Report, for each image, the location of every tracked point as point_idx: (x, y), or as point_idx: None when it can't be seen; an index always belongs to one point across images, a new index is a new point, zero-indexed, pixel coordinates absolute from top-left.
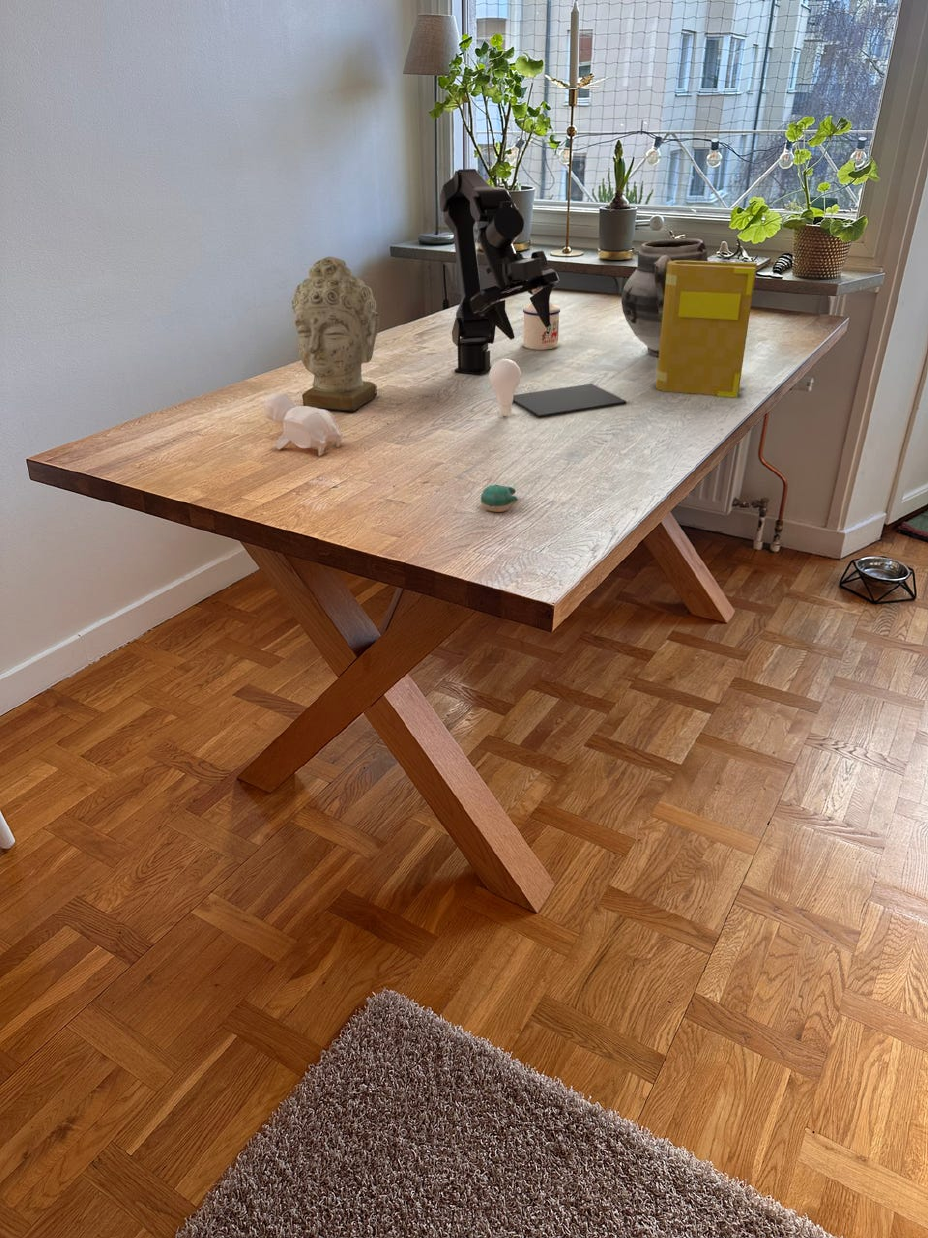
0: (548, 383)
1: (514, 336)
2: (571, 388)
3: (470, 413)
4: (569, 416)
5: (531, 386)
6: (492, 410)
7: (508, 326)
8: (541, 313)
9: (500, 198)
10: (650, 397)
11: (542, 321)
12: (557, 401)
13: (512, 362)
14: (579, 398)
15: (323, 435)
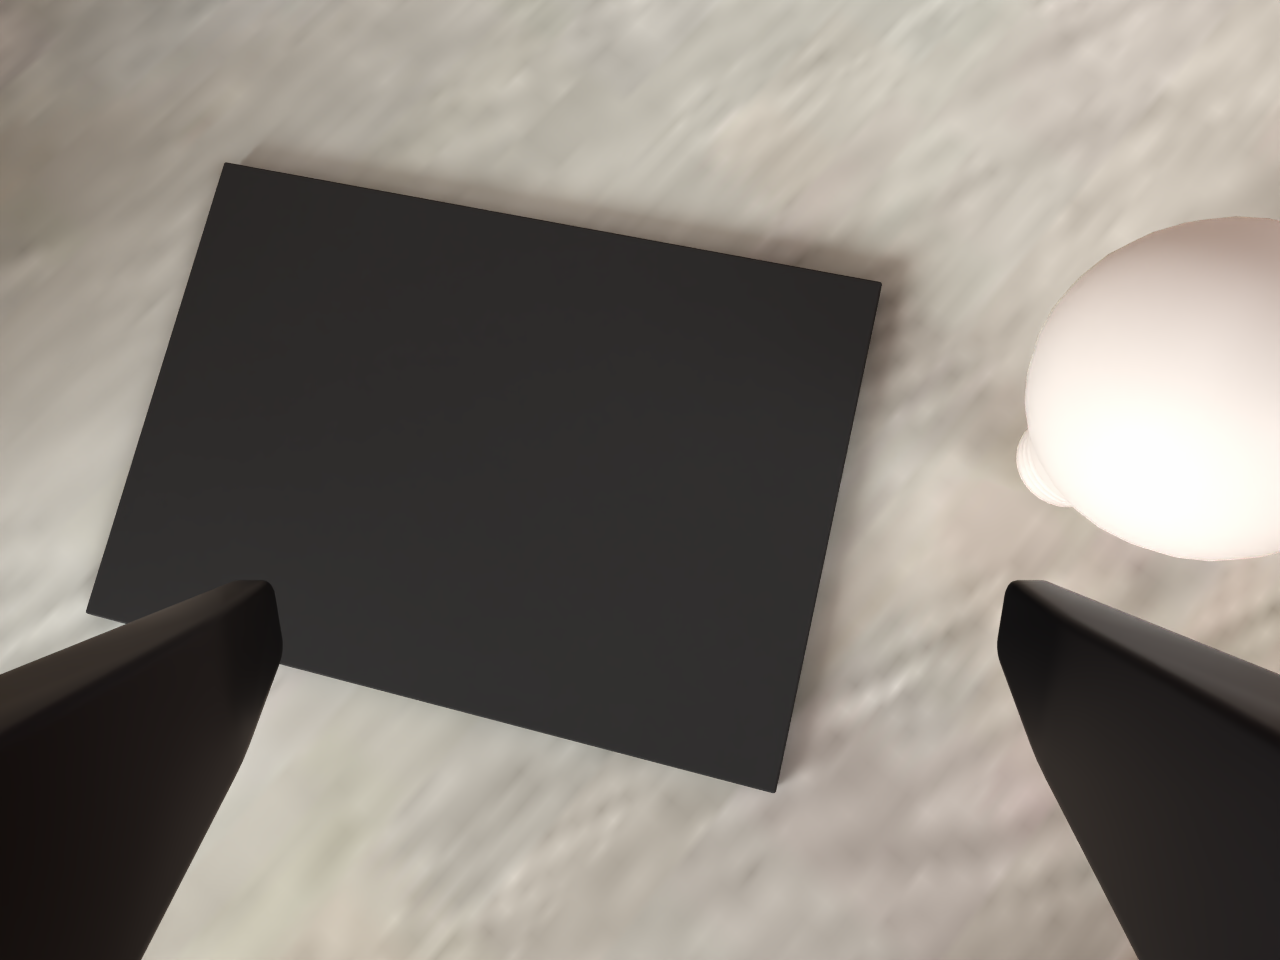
0: (269, 880)
1: (1018, 580)
2: None
3: None
4: (695, 190)
5: (420, 912)
6: None
7: (1190, 645)
8: (157, 807)
9: None
10: (30, 174)
11: (244, 744)
12: (570, 438)
13: (1234, 273)
14: (405, 394)
15: None
